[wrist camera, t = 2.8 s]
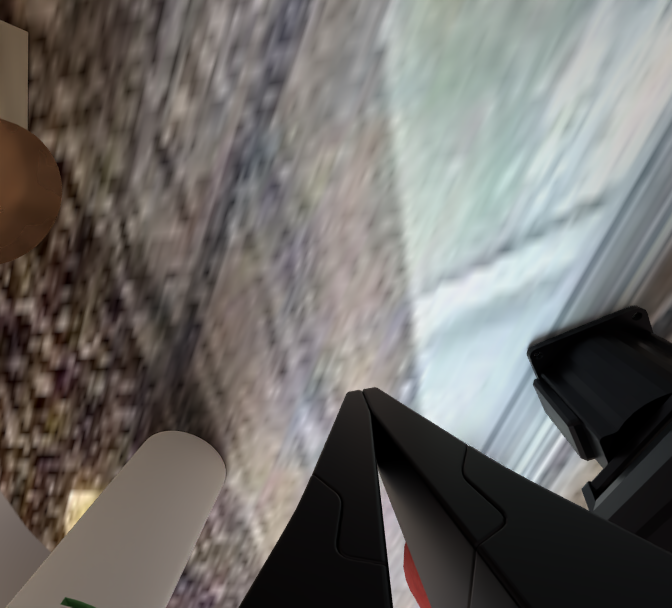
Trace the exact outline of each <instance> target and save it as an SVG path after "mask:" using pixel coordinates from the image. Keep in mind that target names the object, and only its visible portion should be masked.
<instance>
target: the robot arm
mask: <svg viewBox="0 0 672 608" xmlns="http://www.w3.org/2000/svg"><path fill="white" fill-rule="evenodd" d="M635 313H637V314H636V316H635V317H633V318H632V316H633V315H634V314H635ZM537 352H540V353H539V355H537V356H534V355H535V353H537ZM527 356H528V359H529V361H530V363H531V366H532V368H533V370H534V372H535V375H536V377H537V379H535V380H534V382H533V385H534V388H535V390H536V392H537V394H538V397H539V399H540V401H541V403H542V406H543V408H544V410H545V412H546V414H547V415H548V416H549V417H550V419H551V420H552V421H553V423H554V424H555V425H556V426H557V428H558V429H559V430H560V432H561V433H562V434H563V436H564V437H565V438H566V439H567V441H568V442H569V443H570V445H571V446H572V447H573V449H574V450H575V451H576V452H577V454H578V455H579V456H580V458H582V459H584V460H587V461H589V460H592V459H596V460H597V462H598V463H599V464H600V465H601V466H602V468H603V470H602V471H601V472H600V473H599V474H598V475H597V476H596V477H595V478H594V480H593V481H592V482H590V481H588V482H587V483H586V484H585V486H584V487H583V488H582V492H583V495H584V497H585V500H586V503H587V506H588V508H589V511H588V510H586V509H585V508H583V507H581V506H579V505H577V504H575V503H573V502H571V501H569V500H567V499H565V498H563V497H561V496H559V495H557V494H555V493H553V492H551V491H550V490H548V489H546V488H544V487H542V486H540V485H538V484H536V483H534V482H532V481H530V480H528V479H527V478H525V477H523V476H521V475H519V474H517V473H515V472H514V471H512V470H510V469H508V468H506V467H504V466H503V465H501V464H499V463H498V462H496V461H494V460H493V459H491V458H489V457H488V456H486V455H484V454H483V453H481V452H479V451H478V450H476V449H475V448H473V447H471V446H468V445H467V444H466V443H464V442H462V441H461V440H459V439H458V438H456V437H455V436H453V435H451V434H450V433H448V432H447V431H445V430H443V429H442V428H440V427H439V426H437V425H435V424H434V423H432V422H431V421H429V420H428V419H426V418H424V417H423V416H421V415H420V414H418V413H416V412H415V411H413V410H412V409H410V408H408V407H407V406H405V405H404V404H402V403H401V402H399V401H397V400H396V399H394V398H393V397H391V396H389V395H388V394H386V393H385V392H383V391H381V390H380V389H378V388H376V387H373V388H368V389H363V391H361V390H356V391H350V392H348V393H347V394H346V396H345V398H344V401H343V403H342V406H341V408H340V410H339V413H338V415H337V417H336V420H335V422H334V424H333V427H332V429H331V431H330V434H329V436H328V438H327V441H326V443H325V445H324V448H323V450H322V452H321V455H320V457H319V459H318V462H317V464H316V467H315V469H314V471H313V474H312V476H311V477H310V480H309V482H308V484H307V487H306V489H305V491H304V493H303V495H302V497H301V500H300V502H299V504H298V506H297V508H296V510H295V512H294V514H293V515H292V517H291V519H290V521H289V523H288V524H287V526H286V528H285V530H284V531H283V533H282V535H281V537H280V538H279V540H278V542H277V543H276V545H275V547H274V548H273V550H272V552H271V554H270V555H269V557H268V559H267V560H266V562H265V564H264V565H263V567H262V569H261V570H260V572H259V574H258V576H257V577H256V579H255V581H254V582H253V584H252V586H251V587H250V589H249V591H248V592H247V594H246V596H245V598H244V599H243V601H242V603H241V604H240V606H239V608H393V603H392V594H391V585H390V576H389V567H388V558H387V549H386V540H385V531H384V522H383V513H382V504H381V495H380V486H379V477H378V471H379V473H380V476H381V479H382V481H383V484H384V487H385V489H386V492H387V494H388V497H389V499H390V502H391V505H392V507H393V510H394V512H395V515H396V517H397V520H398V523H399V525H400V528H401V530H402V533H403V535H404V538H405V541H406V543H407V546H408V548H409V551H410V553H411V556H412V559H413V561H414V564H415V566H416V569H417V571H418V574H419V577H420V579H421V582H422V584H423V587H424V589H425V592H426V595H427V597H428V600H429V602H430V605H431V608H672V343H670V342H668V341H667V340H665V339H663V338H661V337H659V336H657V335H655V334H654V333H653V331H652V327H651V324H650V321H649V317H648V314H647V312H646V310H644V309H643V308H640V307H638V306H630V307H628V308H625V309H623V310H620V311H618V312H615V313H613V314H610V315H608V316H605V317H603V318H600V319H598V320H596V321H593V322H591V323H588V324H586V325H583V326H581V327H578V328H576V329H573V330H571V331H568V332H566V333H563V334H561V335H559V336H556V337H554V338H551V339H549V340H546V341H544V342H541V343H539V344H536V345H534V346H532V347H530V348H529V349H528V351H527Z"/></svg>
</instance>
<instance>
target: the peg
mask: <svg viewBox="0 0 672 608" xmlns="http://www.w3.org/2000/svg"><path fill="white" fill-rule="evenodd" d="M61 198H62V183H61V177H60V173H59V169H58V167H57V164H56V162H55V160H54V158H53V156H52V154H51V153H50V151H49V150H48V148H47V147H46V146H45V145H44V144H43V143H42V141H41V140H39V139H38V138H37V137H36V136H35V135H34V134H32V133H31V132H29V131H28V130H27V129H25V128H23V127H21V126H19V125H17V124H14V123H12V122H9V121H6V120H4V119H1V118H0V264H2V263H5V262H9V261H12V260H14V259H16V258H19V257H20V256H22V255H24V254H26V253H27V252H29V251H30V250H32V249H33V248H34V247H35V246H37V245H38V244H39V243H40V242H41V241H42V240H43V239H44V238H45V236H46V235H47V234H48V232H49V231H50V229H51V228H52V226H53V224H54V222H55V220H56V218H57V215H58V212H59V209H60V205H61Z"/></svg>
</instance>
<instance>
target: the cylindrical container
mask: <svg viewBox="0 0 672 608" xmlns="http://www.w3.org/2000/svg"><path fill="white" fill-rule="evenodd" d="M225 478H226V468H225V464H224V462H223V460H222V458H221V456H220V455H219V453H218V452H217V451H216V450H215V449H214V448H213V447H212V446H211V445H210V444H209V443H207V442H206V441H204V440H203V439H201V438H199V437H197V436H195V435H192V434H189V433H186V432H181V431H164V432H159V433H156V434H154V435H152V436H151V437H149V438H148V439H147V440H146V441H145V442H144V443H143V444H142V446H141V447H140V448H139V449H138V450H137V452H136V453H135V454H134V455H133V456H132V457H131V459H130V460H129V461H128V462H127V463H126V465H125V466H124V467H123V468H122V469H121V471H120V472H119V473H118V474H117V475H116V476H115V478H114V479H113V480H112V481H111V482H110V484H109V485H108V486H107V487H106V488H105V490H104V491H103V492H102V493H101V494H100V495H99V497H98V498H97V499H96V500H95V501H94V503H93V504H92V505H91V506H90V507H89V509H88V510H87V511H86V512H85V513H84V514H83V516H82V517H81V518H80V519H79V520H78V522H77V523H76V524H75V525H74V526H73V528H72V529H71V530H70V531H69V532H68V534H67V535H66V536H65V537H64V538H63V539H62V541H61V542H60V543H59V544H58V545H57V547H56V548H55V549H54V550H53V551H52V553H51V554H50V555H49V556H48V557H47V559H46V560H45V561H44V562H43V563H42V565H41V566H40V567H39V568H38V569H37V570H36V572H35V573H34V574H33V575H32V577H31V578H30V579H29V580H28V581H27V582H26V584H25V585H24V586H23V587H22V588H21V590H20V591H19V592H18V593H17V594H16V596H15V597H14V598H13V599H12V600H11V602H10V603H9V604H8V605H7V606H6V607H5V608H166V606H167V604H168V602H169V600H170V598H171V595H172V593H173V591H174V589H175V587H176V585H177V583H178V580H179V578H180V576H181V574H182V572H183V570H184V568H185V565H186V563H187V561H188V559H189V557H190V555H191V553H192V550H193V548H194V546H195V544H196V542H197V540H198V538H199V535H200V533H201V531H202V529H203V527H204V525H205V523H206V520H207V518H208V516H209V514H210V512H211V510H212V508H213V505H214V503H215V501H216V499H217V497H218V495H219V493H220V490H221V488H222V486H223V484H224V481H225Z"/></svg>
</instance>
